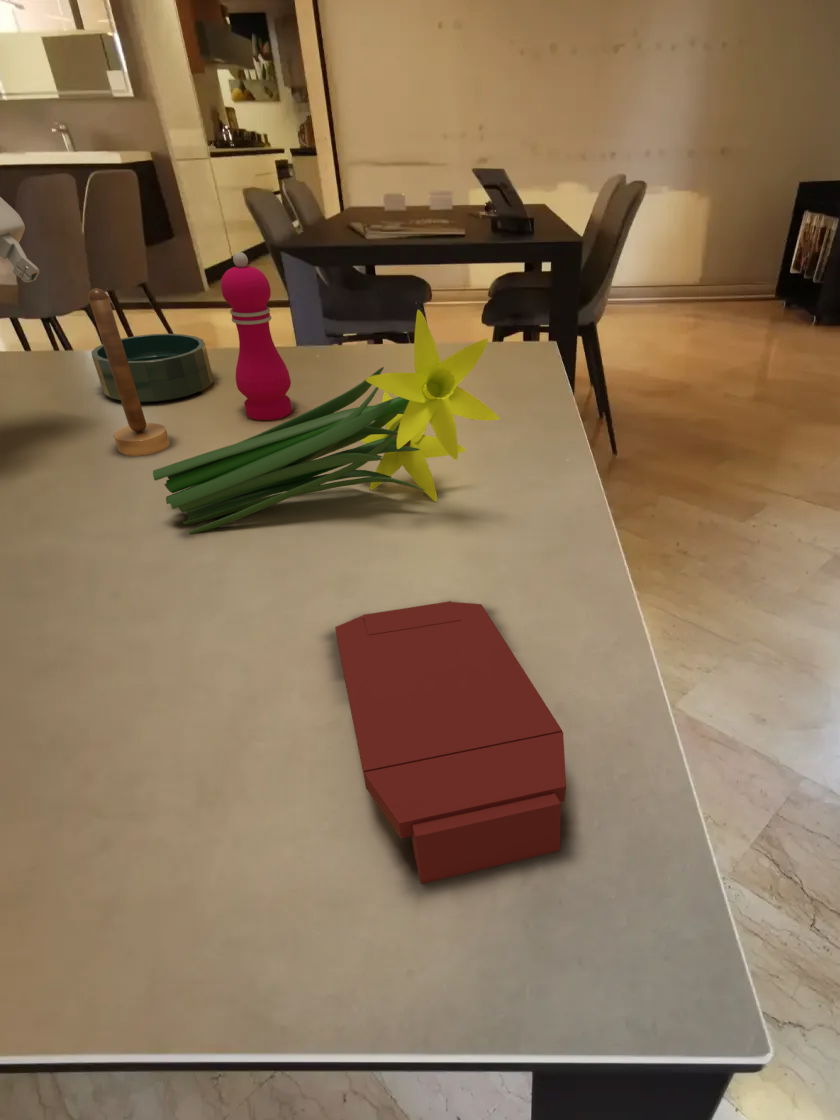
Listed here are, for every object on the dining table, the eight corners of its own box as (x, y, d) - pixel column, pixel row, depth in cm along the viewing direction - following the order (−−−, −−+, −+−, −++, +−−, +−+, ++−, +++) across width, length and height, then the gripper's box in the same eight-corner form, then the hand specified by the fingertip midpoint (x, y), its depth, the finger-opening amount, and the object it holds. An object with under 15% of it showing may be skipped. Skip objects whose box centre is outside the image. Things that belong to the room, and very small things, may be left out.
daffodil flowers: (199, 486, 81) (480, 385, 82) (225, 596, 77) (523, 488, 77) (110, 394, 65) (461, 268, 66) (137, 526, 61) (514, 390, 61)
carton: (342, 671, 59) (385, 897, 38) (333, 619, 57) (374, 830, 36) (479, 647, 62) (592, 846, 41) (477, 597, 59) (595, 781, 38)
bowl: (82, 395, 104) (67, 353, 101) (165, 367, 115) (155, 329, 111) (154, 412, 98) (142, 368, 95) (235, 382, 109) (226, 341, 106)
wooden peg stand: (109, 454, 87) (53, 290, 75) (148, 438, 91) (100, 281, 79) (142, 464, 84) (89, 296, 73) (181, 447, 88) (137, 286, 77)
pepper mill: (232, 418, 97) (196, 255, 84) (260, 402, 102) (230, 246, 90) (278, 424, 95) (248, 258, 83) (305, 407, 100) (280, 248, 88)
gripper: (-208, 158, 62) (-54, 283, 67) (-43, 146, 78) (72, 247, 83) (-221, 216, 65) (-73, 332, 70) (-60, 193, 81) (51, 288, 86)
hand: (6, 286), depth 76 cm, fingers open, 8 cm apart
